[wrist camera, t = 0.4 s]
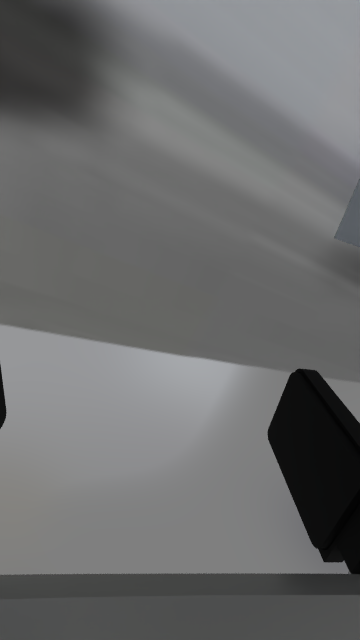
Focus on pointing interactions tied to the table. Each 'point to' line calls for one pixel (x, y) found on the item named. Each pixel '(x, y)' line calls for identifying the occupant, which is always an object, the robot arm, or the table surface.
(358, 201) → the bin
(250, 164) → the table surface
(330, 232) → the table surface
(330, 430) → the robot arm
